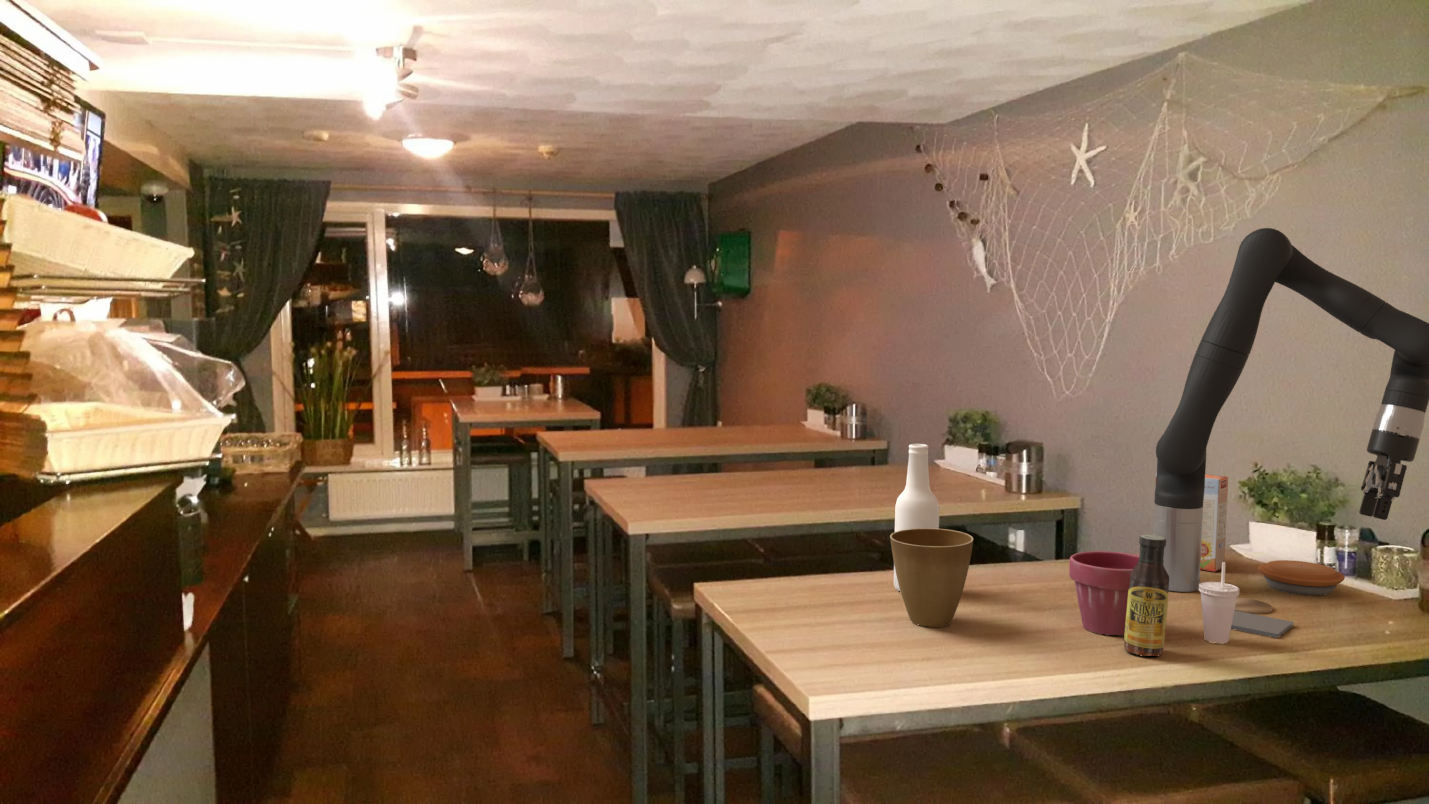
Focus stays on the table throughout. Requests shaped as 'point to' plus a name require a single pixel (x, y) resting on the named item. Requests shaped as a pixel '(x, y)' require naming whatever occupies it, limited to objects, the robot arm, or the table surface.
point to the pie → (1301, 577)
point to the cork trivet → (1252, 606)
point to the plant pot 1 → (931, 572)
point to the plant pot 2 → (1102, 589)
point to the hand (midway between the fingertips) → (1372, 517)
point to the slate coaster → (1260, 624)
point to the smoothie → (1218, 608)
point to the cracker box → (1214, 522)
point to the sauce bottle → (1147, 600)
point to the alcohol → (916, 497)
